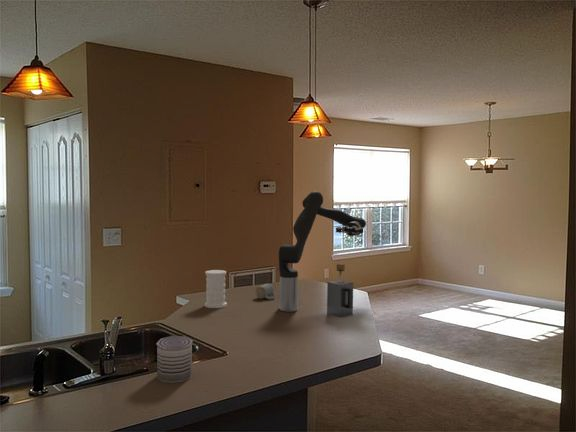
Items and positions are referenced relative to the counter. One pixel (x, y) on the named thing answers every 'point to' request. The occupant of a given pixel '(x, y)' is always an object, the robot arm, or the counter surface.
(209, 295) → the decorative container
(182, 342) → the can
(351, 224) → the robot arm
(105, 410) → the counter surface
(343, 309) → the square hole block
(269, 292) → the ceramic mug
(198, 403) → the counter surface
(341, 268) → the plunger
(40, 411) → the counter surface
